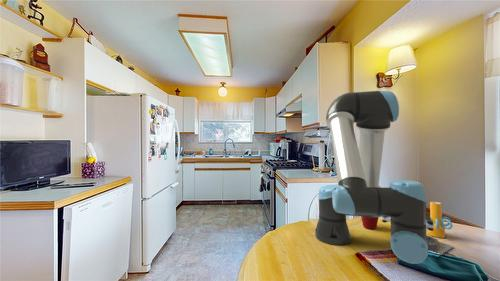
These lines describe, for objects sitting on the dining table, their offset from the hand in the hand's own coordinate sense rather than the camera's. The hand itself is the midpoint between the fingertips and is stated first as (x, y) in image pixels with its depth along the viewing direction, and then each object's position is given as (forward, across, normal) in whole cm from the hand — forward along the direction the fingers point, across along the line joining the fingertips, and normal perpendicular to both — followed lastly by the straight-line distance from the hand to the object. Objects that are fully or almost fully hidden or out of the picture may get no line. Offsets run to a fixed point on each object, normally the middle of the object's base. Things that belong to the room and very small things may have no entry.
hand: (405, 208), depth 83 cm
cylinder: (+28, +12, -18) cm, 35 cm away
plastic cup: (+21, -14, -18) cm, 31 cm away
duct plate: (+12, +5, -17) cm, 22 cm away
